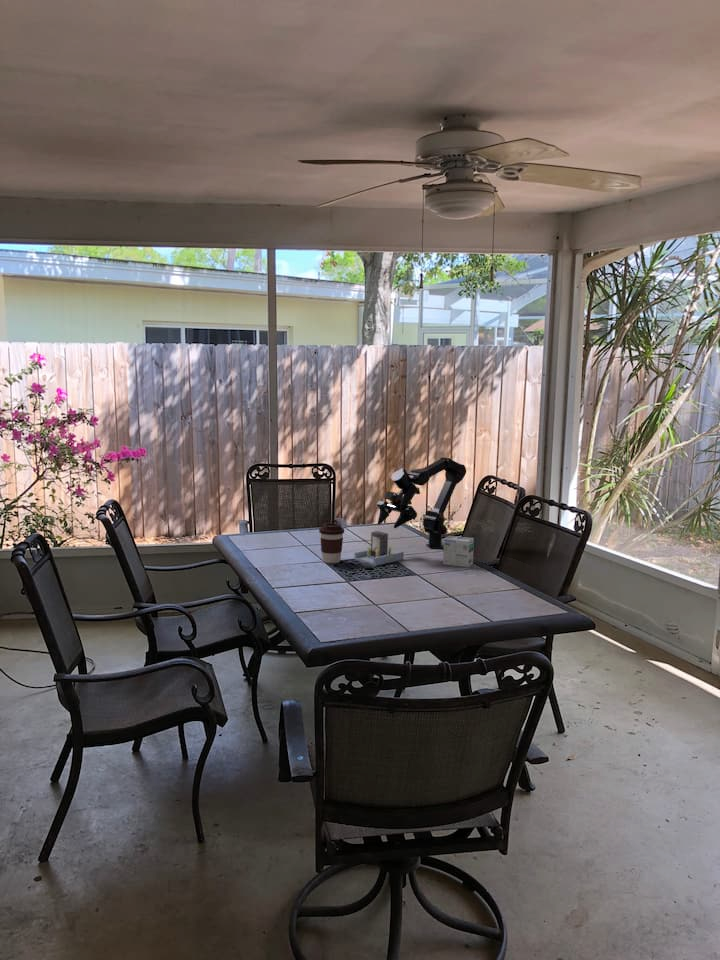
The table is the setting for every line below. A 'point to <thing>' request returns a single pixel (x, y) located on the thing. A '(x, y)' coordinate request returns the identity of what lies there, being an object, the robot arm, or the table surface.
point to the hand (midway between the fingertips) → (386, 525)
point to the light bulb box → (458, 551)
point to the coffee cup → (331, 542)
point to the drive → (379, 543)
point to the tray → (377, 557)
